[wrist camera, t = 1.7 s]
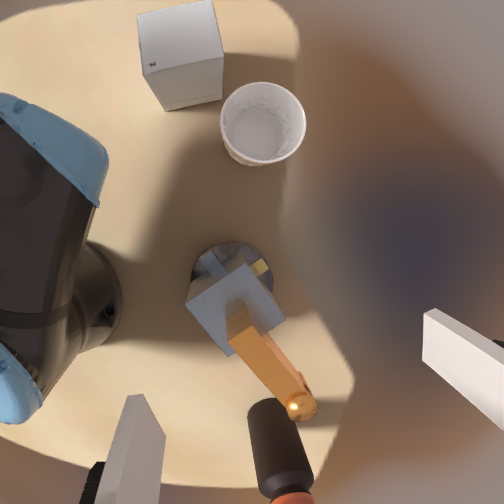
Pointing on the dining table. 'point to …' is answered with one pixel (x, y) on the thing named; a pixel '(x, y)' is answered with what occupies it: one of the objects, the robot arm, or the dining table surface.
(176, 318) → the dining table surface
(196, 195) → the dining table surface
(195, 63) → the supplement box
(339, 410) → the dining table surface
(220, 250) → the dark grey cylinder
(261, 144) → the white cup
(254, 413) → the bottle
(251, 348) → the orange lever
